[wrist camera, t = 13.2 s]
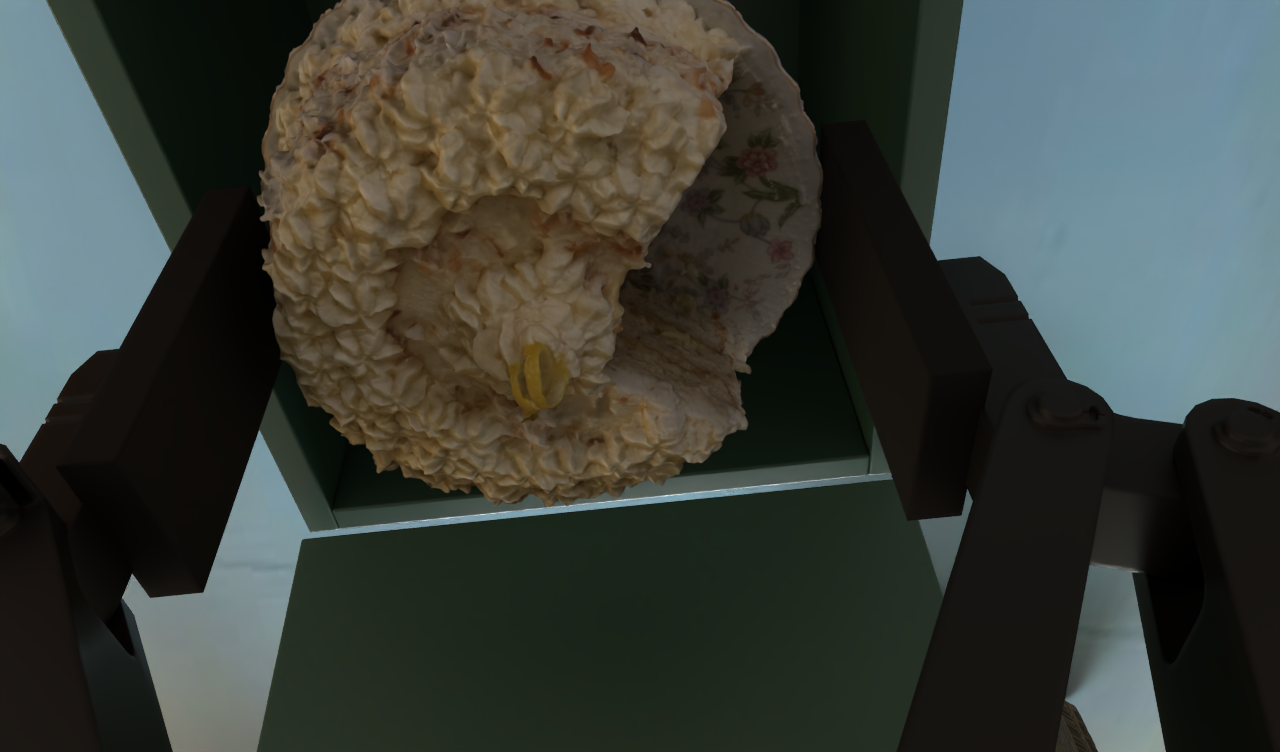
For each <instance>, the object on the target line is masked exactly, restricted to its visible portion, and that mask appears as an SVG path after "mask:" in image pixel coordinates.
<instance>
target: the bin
mask: <svg viewBox="0 0 1280 752" xmlns="http://www.w3.org/2000/svg"><path fill="white" fill-rule="evenodd" d="M46 1H47V3H48V5H49V7H50V9H51V11H52V13H53V15H54V17H55V19H56V21H57V24H58V26H59V28H60V30H61V32H62V34H63V36H64V38H65V40H66V42H67V44H68V46H69V48H70V50H71V52H72V54H73V56H74V58H75V60H76V62H77V64H78V66H79V68H80V70H81V72H82V74H83V76H84V78H85V80H86V82H87V84H88V86H89V88H90V90H91V92H92V94H93V96H94V98H95V100H96V102H97V104H98V106H99V108H100V110H101V112H102V114H103V116H104V118H105V120H106V122H107V124H108V126H109V128H110V130H111V132H112V134H113V136H114V138H115V140H116V142H117V144H118V146H119V148H120V150H121V152H122V154H123V156H124V158H125V160H126V162H127V164H128V166H129V168H130V170H131V172H132V174H133V176H134V178H135V180H136V182H137V184H138V186H139V188H140V190H141V192H142V194H143V196H144V198H145V200H146V202H147V204H148V207H149V209H150V211H151V213H152V215H153V217H154V219H155V221H156V223H157V225H158V227H159V229H160V231H161V233H162V235H163V237H164V239H165V241H166V243H167V245H168V247H169V249H170V251H171V253H172V252H173V250H174V248H175V246H176V245H177V243H178V241H179V239H180V237H181V235H182V234H183V232H184V230H185V228H186V226H187V225H188V223H189V221H190V219H191V217H192V215H193V214H194V212H195V210H196V208H197V206H198V205H199V203H200V201H201V199H202V197H203V195H204V194H205V192H206V190H213V189H222V188H231V187H241V186H250V188H251V190H252V193H253V195H254V198H255V200H256V203H257V205H258V208H259V210H260V213H261V215H262V216H263V215H264V214H265V207H263V206H262V207H261V206H260V205H259V203H258V201H257V196H259V195H262V192H261V184H260V182H261V180H262V179H261V177H260V176H259V171H260V170H262V171H265V161H264V157H263V155H262V147H261V145H262V139H263V138H264V135H265V132H266V130H267V129H268V126H269V120H270V118H269V115H270V113H271V110H270V105H271V101H272V97H273V95H274V93H276V86H278V85H281V84H282V82H283V79H284V78H285V72H284V69H285V68H286V65H287V62H288V59H289V54H290V52H291V51H293V48H297V47H298V46H300V45H303V43H304V42H305V41H306V39H307V38H308V37H309V35H310V32H311V31H312V30H313V24H314V23H317V22H318V21H319V19H320V16H321V14H325V12H326V10H328V9H329V8H330V9H332V10H333V9H334V7H335V5H336V3H338V2H339V4H340V2H341V1H342V0H46ZM727 1H728V2H729V3H730V4H731V5H733V6H734V7H735V11H738V12H740V13H741V15H742V18H743V20H744V21H745V22H746V23H747V24H748V25H749V26H750V28H753V29H754V30H755V32H756V33H760V34H761V35H763V36H764V37H765V38H766V39H767V40H768V42H769V43H770V44H771V45H772V46H773V47H774V49H775V51H776V52H777V54H778V57H779V59H780V62H781V66H782V67H783V68H784V69H785V70H786V72H787V73H788V74H789V75H790V76H791V77H792V79H793V80H794V81H795V82H797V83H798V86H799V89H800V98H801V100H803V102H804V104H803V106H804V109H803V111H804V112H806V115H807V116H808V117H809V119H810V121H811V122H812V123H813V125H814V127H815V128H814V130H815V131H816V133H815V135H816V137H817V140H818V142H817V145H816V152H817V157H818V159H819V160H820V137H821V124H829V123H838V122H847V121H857V120H865V121H866V123H867V125H868V127H869V129H870V131H871V132H872V134H873V136H874V138H875V140H876V142H877V144H878V146H879V148H880V150H881V152H882V154H883V156H884V158H885V160H886V162H887V164H888V166H889V168H890V170H891V172H892V173H893V175H894V177H895V179H896V181H897V183H898V185H899V187H900V189H901V191H902V193H903V195H904V197H905V199H906V201H907V203H908V205H909V207H910V209H911V211H912V212H913V214H914V216H915V218H916V220H917V222H918V224H919V226H920V228H921V230H922V232H923V234H924V236H925V238H926V240H927V242H928V244H929V245H930V238H931V231H932V224H933V216H934V209H935V202H936V195H937V187H938V180H939V173H940V166H941V159H942V151H943V144H944V137H945V130H946V123H947V115H948V108H949V101H950V94H951V86H952V79H953V72H954V65H955V58H956V50H957V43H958V36H959V29H960V22H961V14H962V7H963V0H727ZM264 222H265V225H266V227H267V230H268V232H269V235H270V225H269V220H268V221H264ZM814 247H815V251H816V244H814ZM814 258H815V260H814V261H813V263H812V264H813V265H812V266H811V268H810V269H809V270H808V272H807V273H806V274H805V275H804V277H803V279H802V282H801V287H800V288H799V293H798V295H797V298H796V300H795V301H794V302H793V303H792V305H791V306H790V307H788V308H787V309H786V310H785V311H784V313H783V317H782V318H780V321H779V323H778V325H777V328H776V329H775V331H774V332H773V333H772V334H771V335H770V336H769V337H766V338H763V339H761V340H760V341H759V343H758V344H757V345H756V346H755V347H754V349H753V351H752V354H751V355H750V356H749V357H747V360H746V362H745V363H746V364H747V365H749V366H750V368H751V374H747V373H745V372H739V371H736V370H734V371H735V374H736V377H737V379H739V380H740V381H741V388H740V390H741V393H740V396H741V398H742V400H743V404H742V405H741V407H742V408H743V409H744V410H745V412H746V414H745V415H744V416H745V417H746V419H747V421H748V427H747V429H746V430H738V429H737V431H736V432H734V433H731V434H728V435H726V436H725V438H724V440H723V441H722V446H721V448H720V449H719V450H717V451H715V452H712V453H711V455H710V456H709V457H708V458H707V459H706V460H705V461H703V462H702V463H699V462H697V463H688V462H687V461H686V462H684V463H683V469H682V470H681V471H680V474H679V475H674V476H672V477H670V478H668V479H666V481H665V483H664V485H663V486H659V485H658V484H654V483H653V482H651V481H650V480H646V481H643V482H641V483H638V484H637V485H635V486H634V487H633V488H630V487H629V486H626V487H625V489H624V492H623V493H622V494H621V495H620V496H619V497H618V498H615V497H612V496H611V495H610V494H609V493H606V492H604V493H603V494H601V495H600V496H598V497H595V498H594V499H591V498H589V499H583V498H580V499H577V500H575V501H574V502H573V503H572V504H570V505H569V506H573V505H583V504H592V503H602V502H612V501H622V500H632V499H642V498H651V497H661V496H671V495H681V494H691V493H700V492H710V491H720V490H730V489H740V488H750V487H759V486H769V485H779V484H789V483H799V482H809V481H818V480H828V479H838V478H848V477H858V476H866V475H867V474H869V475H878V474H888V473H891V472H890V469H889V466H888V464H887V461H886V458H885V455H884V452H883V449H882V446H881V443H880V440H879V438H878V435H877V432H876V429H875V426H874V423H873V420H872V417H871V414H870V412H869V409H868V406H867V403H866V400H865V397H864V394H863V391H862V388H861V386H860V383H859V380H858V377H857V374H856V371H855V368H854V365H853V363H852V360H851V357H850V354H849V351H848V348H847V345H846V342H845V339H844V337H843V334H842V331H841V328H840V325H839V322H838V319H837V316H836V313H835V311H834V308H833V305H832V302H831V299H830V296H829V293H828V290H827V288H826V285H825V282H824V279H823V276H822V273H821V270H820V267H819V264H818V262H817V259H816V256H815V257H814ZM333 417H334V415H333V414H331V413H327V412H326V411H325V410H324V409H323V408H322V407H321V406H319V407H314V406H308V404H307V401H306V399H305V398H304V395H303V393H302V391H301V389H300V387H299V386H298V384H297V380H296V374H295V373H294V372H293V368H292V367H291V365H290V364H289V363H288V362H286V361H284V360H283V361H282V364H281V367H280V370H279V373H278V376H277V379H276V382H275V384H274V387H273V390H272V393H271V396H270V399H269V402H268V405H267V408H266V411H265V414H264V417H263V419H262V422H261V425H260V428H259V430H260V432H261V434H262V436H263V438H264V440H265V442H266V444H267V446H268V448H269V450H270V452H271V454H272V456H273V458H274V460H275V462H276V464H277V466H278V468H279V470H280V472H281V474H282V476H283V478H284V480H285V482H286V484H287V486H288V488H289V490H290V492H291V494H292V496H293V498H294V500H295V502H296V504H297V506H298V508H299V510H300V512H301V514H302V516H303V518H304V520H305V522H306V524H307V526H308V528H309V530H310V532H319V531H329V530H338V529H339V528H341V529H347V528H357V527H366V526H376V525H386V524H396V523H406V522H415V521H425V520H435V519H445V518H455V517H465V516H474V515H484V514H494V513H504V512H514V511H524V510H533V509H543V508H553V507H563V506H565V505H564V503H563V502H560V501H559V500H558V501H556V502H555V503H554V505H553V506H552V507H546V506H545V503H544V501H542V499H541V498H537V497H536V496H535V495H534V494H531V495H529V494H528V496H527V498H525V499H524V500H523V502H520V503H516V504H514V505H512V504H509V503H508V504H506V503H505V501H503V502H502V503H500V504H499V506H497V507H496V506H494V504H493V503H492V502H491V501H488V499H487V498H485V497H484V493H483V492H482V491H480V489H479V488H478V487H477V486H472V488H471V491H470V493H468V494H466V493H465V492H464V491H462V490H460V489H459V488H458V489H457V490H451V491H450V492H449V493H446V492H444V491H442V489H438V488H431V486H429V485H427V483H425V482H424V481H423V480H422V479H419V478H417V479H416V478H412V477H409V478H405V477H404V476H403V471H402V469H401V467H400V465H399V467H398V468H397V469H395V470H390V471H387V470H383V471H382V472H380V473H377V471H376V470H377V465H376V464H375V462H374V461H375V460H374V459H373V458H372V456H373V454H372V453H371V452H370V451H369V449H368V448H366V444H357V445H352V444H349V440H348V439H347V438H346V437H345V436H341V434H342V433H341V432H339V431H338V430H336V429H335V428H334V427H333V426H331V425H330V420H331V419H332V418H333Z"/></svg>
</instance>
